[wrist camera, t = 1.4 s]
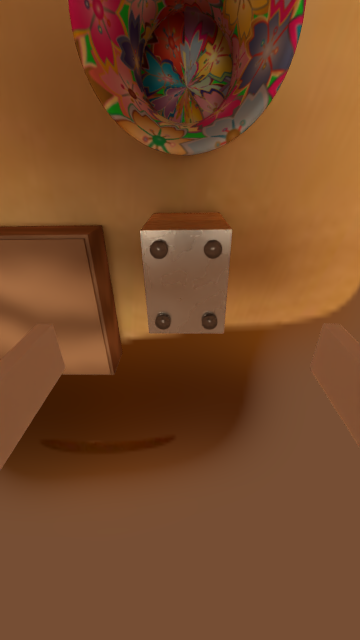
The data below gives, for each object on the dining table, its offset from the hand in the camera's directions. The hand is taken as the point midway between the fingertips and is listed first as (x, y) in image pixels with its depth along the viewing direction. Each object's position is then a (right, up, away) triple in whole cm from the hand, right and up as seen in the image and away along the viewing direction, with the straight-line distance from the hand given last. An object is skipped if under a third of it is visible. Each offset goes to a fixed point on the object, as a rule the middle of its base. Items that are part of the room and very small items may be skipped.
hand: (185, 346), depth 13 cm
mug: (0, +20, +6) cm, 21 cm away
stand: (-15, +4, +15) cm, 21 cm away
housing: (0, +8, +13) cm, 15 cm away
